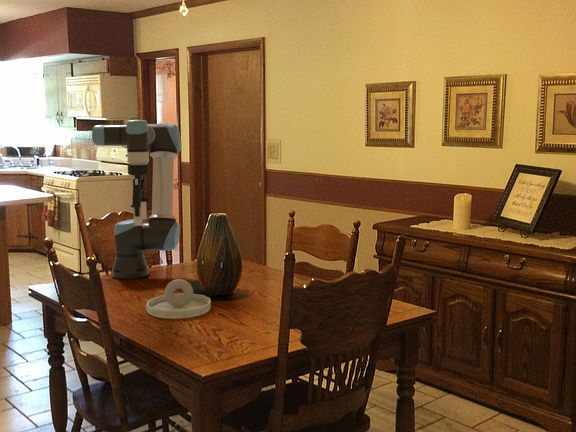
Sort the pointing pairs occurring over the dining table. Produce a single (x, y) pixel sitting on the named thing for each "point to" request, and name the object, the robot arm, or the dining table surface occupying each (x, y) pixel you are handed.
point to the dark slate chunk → (199, 289)
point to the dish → (165, 310)
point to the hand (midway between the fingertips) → (140, 222)
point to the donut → (178, 285)
